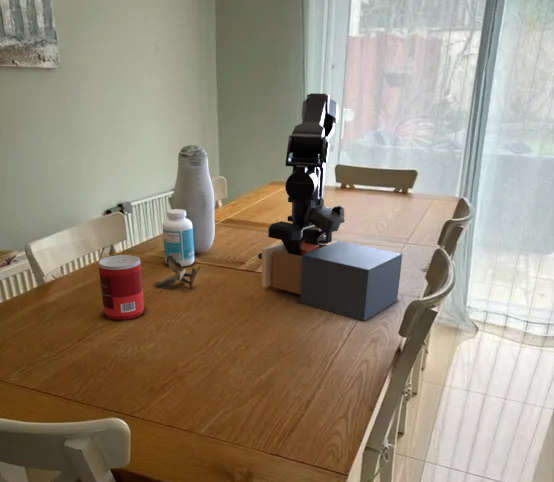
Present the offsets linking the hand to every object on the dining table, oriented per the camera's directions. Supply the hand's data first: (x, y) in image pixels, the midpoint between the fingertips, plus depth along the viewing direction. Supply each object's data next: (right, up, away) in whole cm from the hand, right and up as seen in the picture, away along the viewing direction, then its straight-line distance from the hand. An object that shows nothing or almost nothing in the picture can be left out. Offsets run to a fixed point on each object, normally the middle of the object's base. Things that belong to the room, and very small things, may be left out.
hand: (302, 263), depth 123 cm
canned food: (-36, -12, -12) cm, 40 cm away
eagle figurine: (-29, -5, +3) cm, 29 cm away
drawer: (-1, -4, +3) cm, 5 cm away
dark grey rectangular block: (+10, -9, -4) cm, 14 cm away
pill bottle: (-31, +2, +18) cm, 36 cm away
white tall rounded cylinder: (-28, +6, +28) cm, 40 cm away
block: (0, -1, 0) cm, 1 cm away
